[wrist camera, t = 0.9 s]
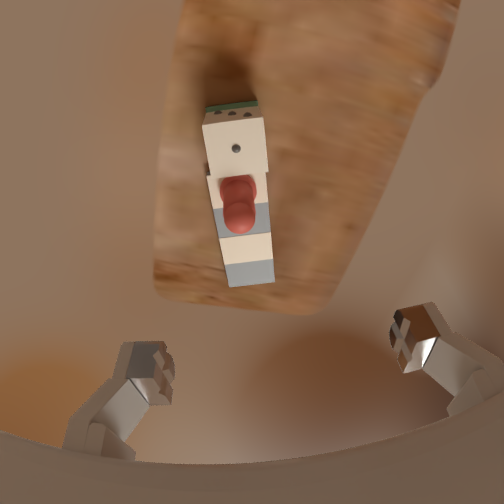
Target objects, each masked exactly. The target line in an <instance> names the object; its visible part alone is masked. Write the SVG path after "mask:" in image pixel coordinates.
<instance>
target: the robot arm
mask: <svg viewBox="0 0 504 504" xmlns="http://www.w3.org/2000/svg"><path fill="white" fill-rule="evenodd" d="M393 318H394V320H395V322H394V323H393V324H392V325H391V327H390V331H389V337H390V338H389V339H390V343H391V346H392V348H393V350H394V351H396V352H397V353H399V355H398V358H397V360H398V362H399V365H400V367H401V370H402V372H403V373H406V372H410V371H414V370H418V369H422V368H423V370H424V371H425V372H426V373H427V374H429V375H430V376H431V377H432V378H433V379H435V380H436V381H437V382H438V383H439V384H440V385H442V386H443V387H444V388H445V389H446V390H448V391H449V392H450V393H451V394H452V395H453V396H454V397H455V398H454V399H453V400H452V402H451V403H450V404H449V406H448V407H447V411H448V413H449V416H450V417H448V418H445V419H443V420H440V421H437V422H435V423H432V424H429V425H427V426H424V427H421V428H418V429H415V430H413V431H409V432H406V433H403V434H400V435H397V436H394V437H391V438H387V439H383V440H380V441H376V442H372V443H369V444H365V445H361V446H357V447H353V448H348V449H344V450H339V451H334V452H329V453H324V454H318V455H312V456H306V457H299V458H292V459H284V460H276V461H266V462H254V463H241V464H240V463H239V464H207V465H206V464H166V463H153V462H142V461H135V455H136V452H135V451H134V450H133V449H132V448H131V447H130V446H128V445H127V444H126V443H125V440H126V439H127V438H128V436H129V435H130V434H131V432H132V431H133V429H134V428H135V427H136V425H137V424H138V422H139V421H140V420H141V418H142V417H143V415H144V414H145V413H146V411H147V410H148V409H149V407H150V406H149V405H171V403H172V395H173V389H172V387H171V385H170V383H171V382H172V381H173V380H174V377H175V365H174V361H173V358H172V356H171V355H170V354H169V353H167V352H166V350H167V346H166V344H165V342H164V341H136V342H123V344H122V345H121V347H120V351H119V354H118V358H117V362H116V366H115V369H114V373H113V377H112V379H108V380H107V381H106V382H105V383H104V384H103V385H102V386H101V387H100V388H99V389H98V390H97V391H96V392H95V393H94V394H93V395H92V396H91V397H90V398H89V399H88V400H87V401H86V402H85V403H84V404H83V405H82V406H81V407H80V408H79V409H78V410H77V411H76V412H75V413H74V414H73V415H72V416H71V417H70V419H69V422H68V426H67V430H66V434H65V438H64V442H63V446H62V448H58V447H54V446H50V445H46V444H42V443H39V442H35V441H32V440H28V439H25V438H22V437H19V436H16V435H13V434H10V433H7V432H4V431H1V430H0V504H504V364H503V363H502V361H501V359H499V358H498V357H496V356H495V355H493V354H491V353H489V352H488V351H486V350H485V349H483V348H481V347H480V346H478V345H477V344H475V343H473V342H472V341H470V340H468V339H467V338H465V337H463V336H462V335H460V334H458V333H457V332H454V333H453V332H452V331H451V329H450V327H449V326H448V324H447V322H446V321H445V319H444V318H443V316H442V314H441V313H440V311H439V310H438V308H437V306H436V305H435V303H433V302H429V303H425V304H421V305H415V306H411V307H407V308H402V309H398V310H396V311H395V313H394V316H393Z"/></svg>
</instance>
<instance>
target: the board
mask: <svg viewBox="0 0 504 504" xmlns="http://www.w3.org/2000/svg"><path fill="white" fill-rule="evenodd" d="M247 175H249V176H250V177H251V178H252V179H253V180H254V182H255V184H256V189H257V195H256V198H255V200H254V203H255V210H256V216H255V224H254V226H253V227H252V229H251V230H250V231H248V232H246V233H244V234H236V233H233V232H231V231H230V230H229V229H228V228H227V227H226V225H225V223H224V217H223V201H222V199H221V197H220V185H221V182H222V181H223V179H224V178H225V177H223V178H216V179H211V174H210V172H207V181H208V186H209V191H210V197H211V202H212V207H213V211H214V216H215V221H216V226H217V231H218V236H219V241H220V246H221V250H222V255H223V260H224V264H225V269H226V274H227V278H228V283H229V287H236V286H245V285H253V284H261V283H270V282H275V279H274V266H273V254H272V242H271V230H270V219H269V207H268V196H267V185H266V175H265V172H263V173H254V174H247Z"/></svg>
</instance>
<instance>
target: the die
mask: <svg viewBox="0 0 504 504" xmlns="http://www.w3.org/2000/svg"><path fill="white" fill-rule="evenodd" d="M202 129H203V135H204V141H205V146H206V152H207V157H208V163H209V168H210V174H211V179H216V178H223V177H231V176H238V175H246V174H254V173H263V172H268V162H267V151H266V141H265V131H264V121H263V116H262V113H261V111H260V109H259V107H258V106H253V107H244V108H236V109H228V110H221V111H220V110H217V111H214V112H208V113H206V115H205V118H204V121H203V123H202Z"/></svg>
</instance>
